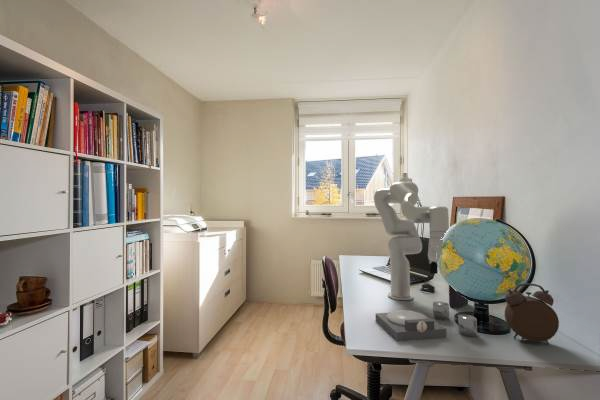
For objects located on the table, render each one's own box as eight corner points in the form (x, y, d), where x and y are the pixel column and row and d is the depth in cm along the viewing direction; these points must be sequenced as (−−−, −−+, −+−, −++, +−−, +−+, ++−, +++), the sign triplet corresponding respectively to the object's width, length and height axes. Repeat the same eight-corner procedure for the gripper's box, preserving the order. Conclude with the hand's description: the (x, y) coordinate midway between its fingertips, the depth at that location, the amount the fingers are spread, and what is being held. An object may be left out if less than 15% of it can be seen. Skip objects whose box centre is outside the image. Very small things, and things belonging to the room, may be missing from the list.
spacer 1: (430, 315, 127) (430, 301, 127) (443, 314, 128) (442, 301, 128) (438, 321, 121) (438, 306, 121) (452, 320, 122) (451, 305, 122)
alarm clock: (547, 338, 104) (545, 281, 105) (561, 348, 97) (559, 287, 98) (501, 335, 107) (500, 280, 108) (511, 344, 100) (510, 285, 100)
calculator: (460, 302, 145) (459, 271, 145) (469, 304, 141) (468, 273, 141) (448, 306, 139) (447, 274, 139) (457, 309, 135) (456, 276, 135)
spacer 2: (454, 331, 111) (454, 315, 111) (469, 330, 112) (468, 314, 112) (465, 338, 105) (465, 321, 105) (481, 336, 106) (480, 320, 106)
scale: (375, 320, 122) (375, 305, 122) (418, 317, 125) (417, 303, 125) (397, 341, 103) (397, 323, 103) (447, 337, 105) (446, 320, 106)
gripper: (420, 234, 133) (421, 272, 132) (443, 237, 116) (445, 280, 115) (435, 233, 134) (436, 271, 134) (461, 236, 117) (462, 280, 116)
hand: (440, 275), depth 124 cm, fingers open, 9 cm apart
